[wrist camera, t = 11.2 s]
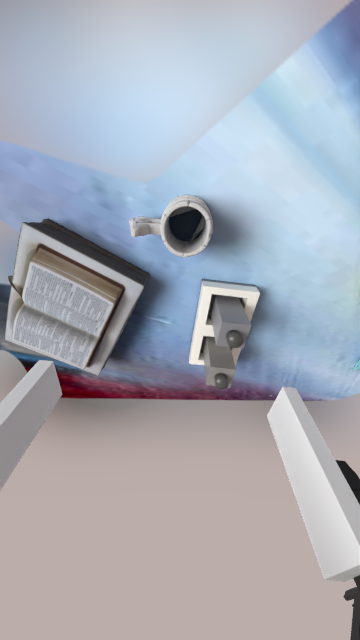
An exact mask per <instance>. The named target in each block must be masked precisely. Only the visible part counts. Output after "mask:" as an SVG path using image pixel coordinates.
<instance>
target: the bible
mask: <svg viewBox="0 0 360 640" xmlns="http://www.w3.org/2000/svg"><path fill="white" fill-rule="evenodd" d="M148 276H149V274H148V273H147V272H145V271H143V270H141V269H140V268H138V267H136V266H134V265H132V264H130V263H128V262H126V261H125V260H123V259H121V258H119V257H118V256H116V255H114V254H112V253H110V252H108V251H107V250H105V249H103V248H101V247H100V246H98V245H96V244H94V243H92V242H90V241H88V240H86V239H85V238H83V237H81V236H80V235H78V234H76V233H74V232H72V231H70V230H67V229H66V228H64V227H63V226H61V225H59V224H57V223H55V222H54V221H52V220H50V219H44V220H43V221H42V222H41V223H35V222H31V223H27V222H23V223H22V226H21V230H20V235H19V241H18V248H17V254H16V260H15V267H14V274H13V276H9V281H10V284H11V291H10V297H9V303H8V312H7V322H6V330H5V339H6V340H8V341H10V342H13V343H15V344H18V345H20V346H23V347H26V348H28V349H31V350H33V351H35V352H38V353H41V354H44V355H46V356H49V357H52V358H54V359H56V360H59V361H62V362H64V363H67V364H70V365H72V366H75V367H78V368H80V369H82V370H85V371H87V372H91V373H93V374H95V375H99V374H100V372H101V371H102V369H103V368H104V367H105V364H106V362H107V361H108V358H109V356H110V355H111V353H112V351H113V349H114V347H115V345H116V343H117V341H118V340H119V337H120V335H121V333H122V332H123V330H124V327H125V326H126V324H127V321H128V319H129V317H130V316H131V314H132V312H133V310H134V308H135V307H136V304H137V302H138V300H139V298H140V296H141V294H142V292H143V289H144V286H145V284H146V281H147V278H148Z"/></svg>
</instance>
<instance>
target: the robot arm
mask: <svg viewBox="0 0 360 640" xmlns="http://www.w3.org/2000/svg"><path fill="white" fill-rule="evenodd" d="M61 395H62V391H61V388H60V384H59V380H58V377H57V373H56V370H55V366H54V363H53V361H44V360H39V361H38V362H37V363H36V364H35V365H34V367H33V368H32V369H31V370H30V371H29V372H28V373H27V374H26V375H25V376H24V378H23V379H22V380H21V381H20V382H19V383H18V384H17V385H16V386H15V388H13V390H12V391H11V392H10V393H9V394H8V395H7V396H6V397H5V398H4V399H3V401H2V402H1V403H0V490H1V489H2V487H3V486H4V484H5V483H6V481H7V479H8V478H9V476H10V475H11V473H12V472H13V470H14V469H15V467H16V465H17V464H18V462H19V461H20V459H21V458H22V456H23V455H24V453H25V451H26V450H27V448H28V447H29V445H30V443H31V442H32V440H33V439H34V437H35V436H36V434H37V433H38V431H39V429H40V428H41V426H42V425H43V423H44V422H45V420H46V419H47V417H48V416H49V414H50V412H51V411H52V409H53V408H54V406H55V405H56V403H57V401H58V400H59V398H60V397H61ZM267 417H268V420H269V423H270V426H271V429H272V432H273V435H274V437H275V440H276V443H277V446H278V449H279V452H280V455H281V458H282V460H283V463H284V466H285V469H286V472H287V474H288V478H289V480H290V483H291V486H292V489H293V492H294V495H295V497H296V500H297V503H298V506H299V509H300V512H301V515H302V518H303V520H304V523H305V526H306V529H307V532H308V535H309V538H310V540H311V543H312V546H313V549H314V552H315V555H316V558H317V561H318V563H319V566H320V569H321V572H322V574H323V578H324V580H333V581H347V580H350V579H352V578H354V581H355V583H356V585H357V587H355V588H352V589H350V590H348V591H346V592H345V595H344V598H345V599H346V600H347V601H348V600H352V599H354V604H353V605H352V606H353V607H354V608H353V619H352V631H351V640H360V479H359V477H358V476H357V474H356V473H355V472H354V471H353V470H352V469H351V468H350V467H349V466H348V464H347V463H346V462H345V461H338V460H335V459H334V457H333V455H332V454H331V452H330V450H329V448H328V446H327V444H326V443H325V441H324V439H323V437H322V435H321V434H320V432H319V430H318V428H317V426H316V424H315V423H314V421H313V419H312V417H311V415H310V413H309V412H308V410H307V408H306V406H305V405H304V402H303V401H302V399H301V397H300V395H299V393H298V392H297V390H296V388H289V387H282V389H281V391H280V393H279V394H278V396H277V398H276V400H275V402H274V404H273V406H272V408H271V409H270V411H269V413H268V415H267Z"/></svg>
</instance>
